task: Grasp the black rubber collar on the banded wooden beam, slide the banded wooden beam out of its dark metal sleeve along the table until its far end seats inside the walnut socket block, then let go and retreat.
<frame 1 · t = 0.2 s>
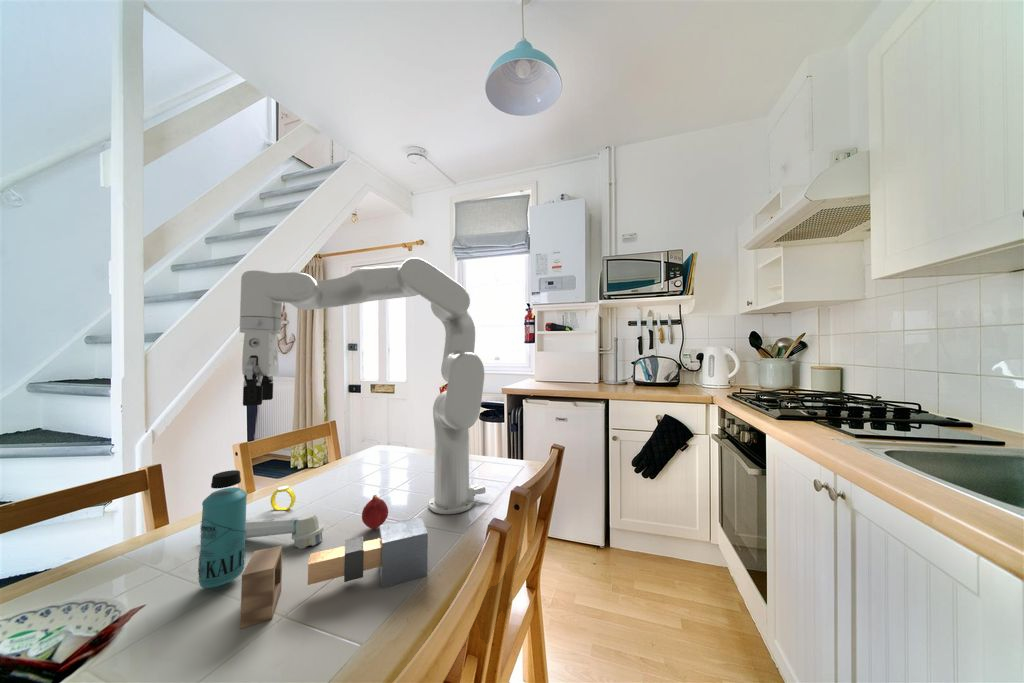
hand: (258, 402, 74), 31 cm above the table, tool pointing down, fingers open, 9 cm apart
banded wooden beam: (369, 554, 61), point 5 cm above the table, slide at 0.0 cm
sleeve: (402, 570, 63), on the table
white long handled piece: (267, 543, 74), on the table
socket: (262, 608, 54), on the table
beverage bottle: (222, 586, 60), on the table
onion: (374, 530, 79), on the table
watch: (282, 510, 89), on the table
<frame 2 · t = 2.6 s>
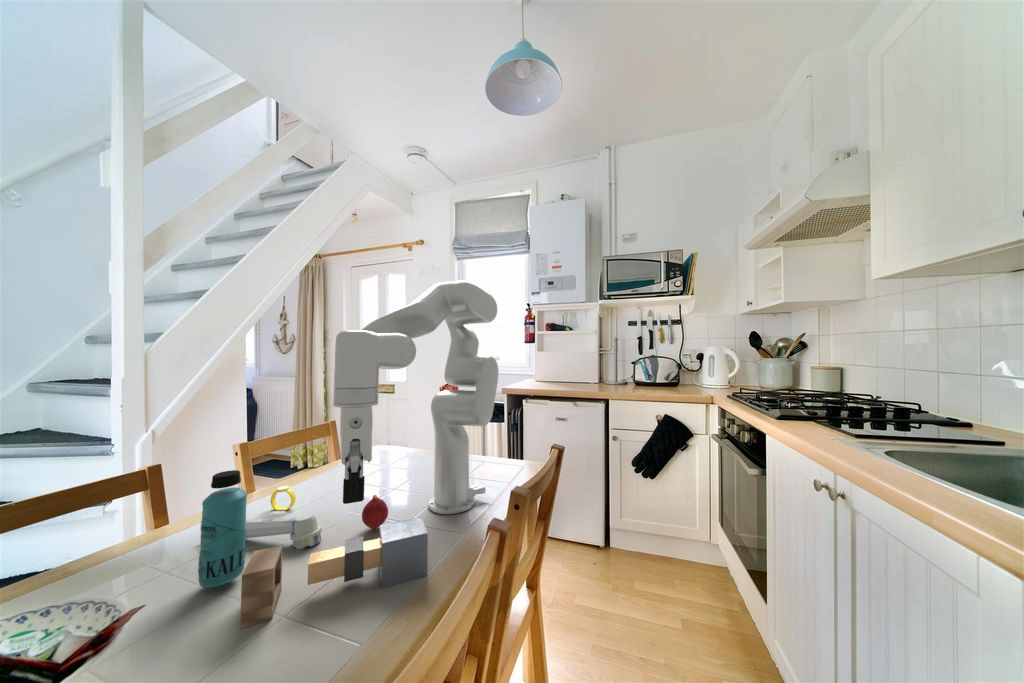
hand: (353, 491, 60), 16 cm above the table, tool pointing down, fingers open, 9 cm apart
nothing on the table moved.
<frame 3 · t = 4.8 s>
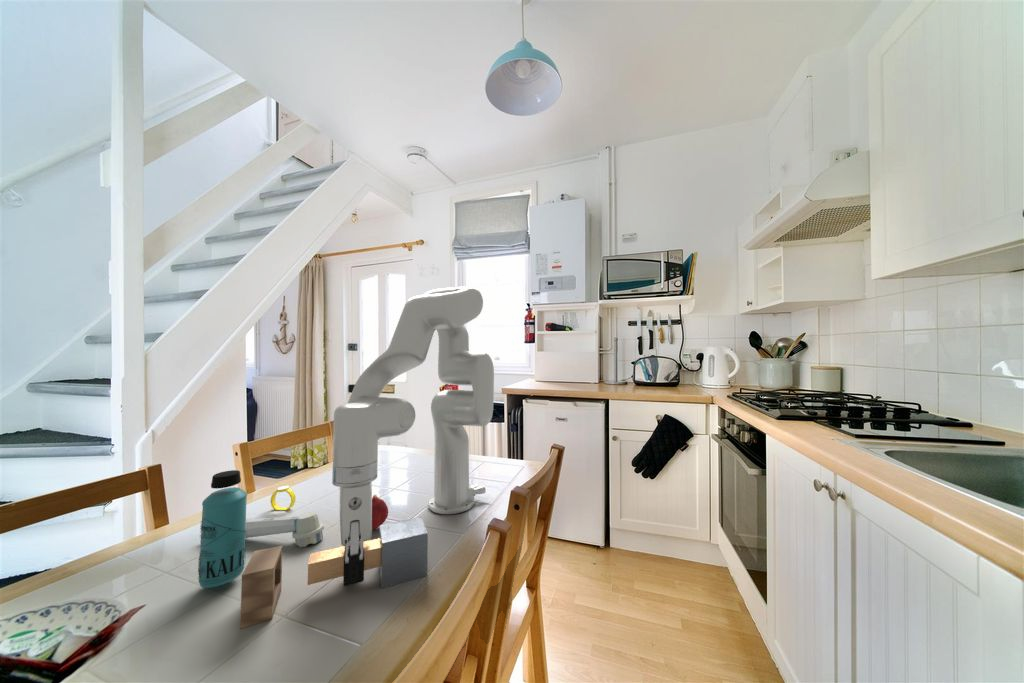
hand: (353, 572, 60), 2 cm above the table, tool pointing down, fingers closed on banded wooden beam, 4 cm apart
banded wooden beam: (369, 554, 61), point 4 cm above the table, slide at 0.0 cm, touching gripper
everything else where it was.
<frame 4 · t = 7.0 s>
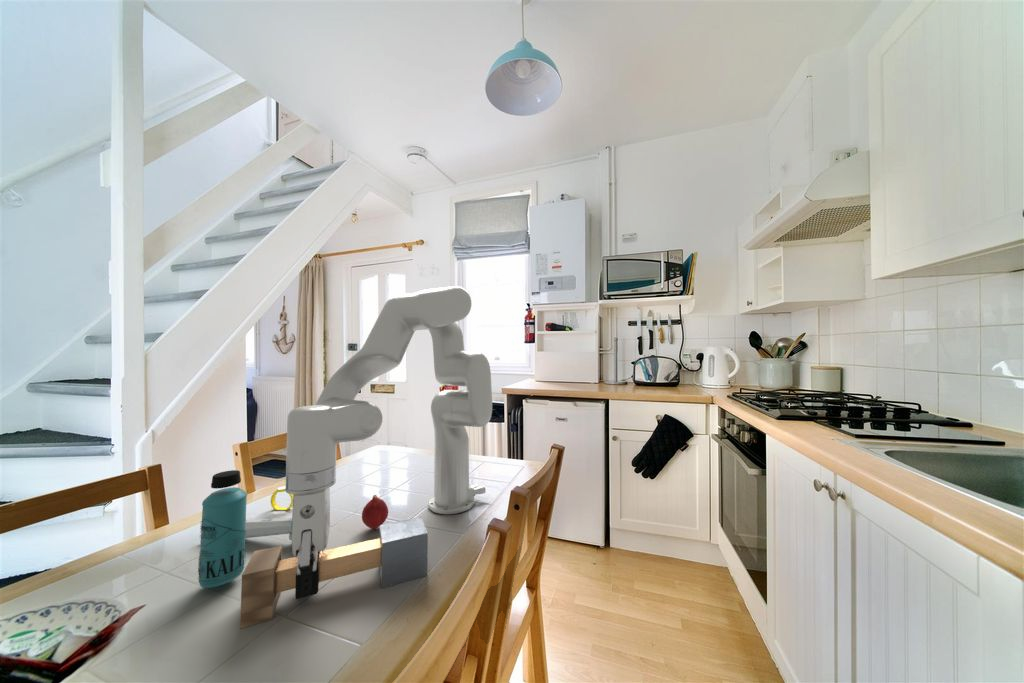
hand: (309, 583, 57), 2 cm above the table, tool pointing down, fingers closed on banded wooden beam, 4 cm apart
banded wooden beam: (326, 564, 58), point 4 cm above the table, slide at 7.0 cm, touching gripper
everything else where it was.
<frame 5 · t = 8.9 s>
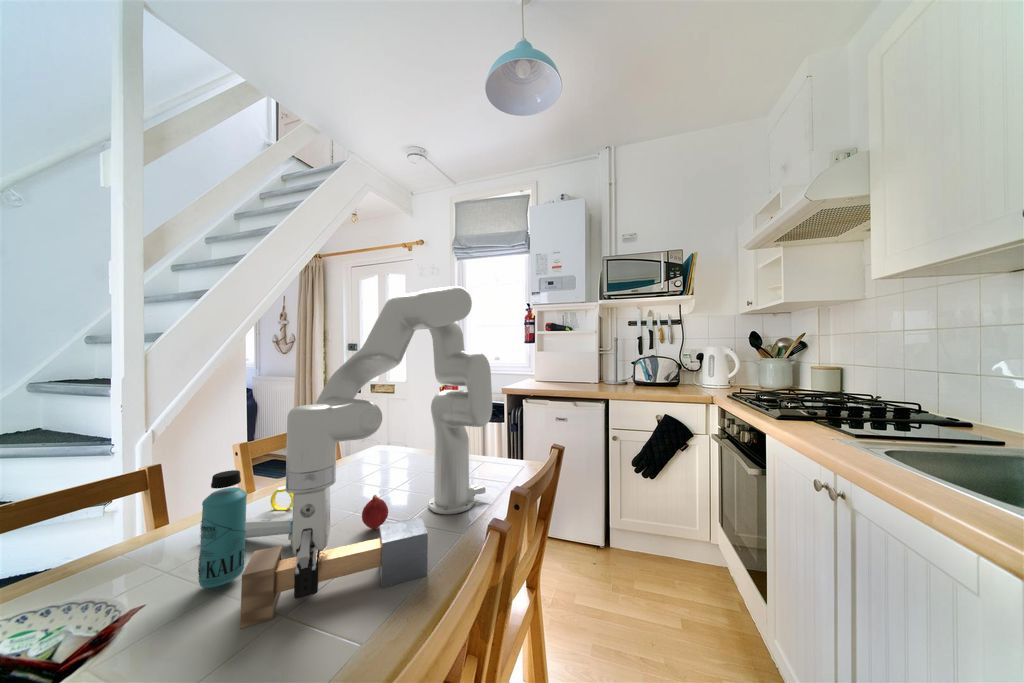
hand: (310, 576, 57), 3 cm above the table, tool pointing down, fingers open, 9 cm apart
banded wooden beam: (325, 564, 58), point 5 cm above the table, slide at 7.0 cm
everything else where it was.
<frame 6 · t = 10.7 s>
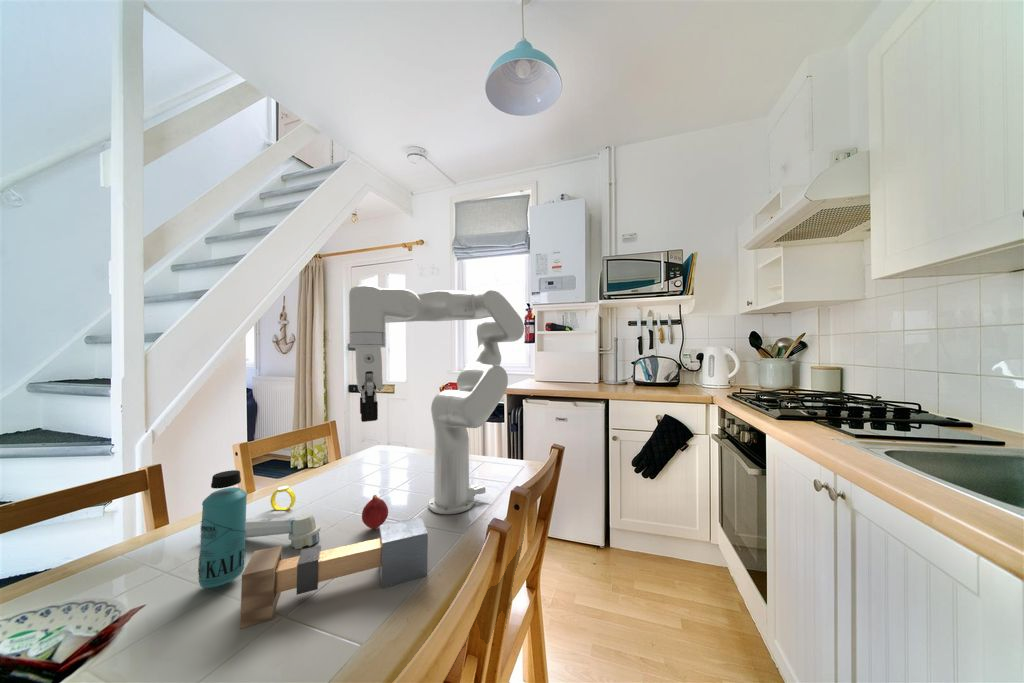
hand: (368, 417, 74), 28 cm above the table, tool pointing down, fingers open, 9 cm apart
nothing on the table moved.
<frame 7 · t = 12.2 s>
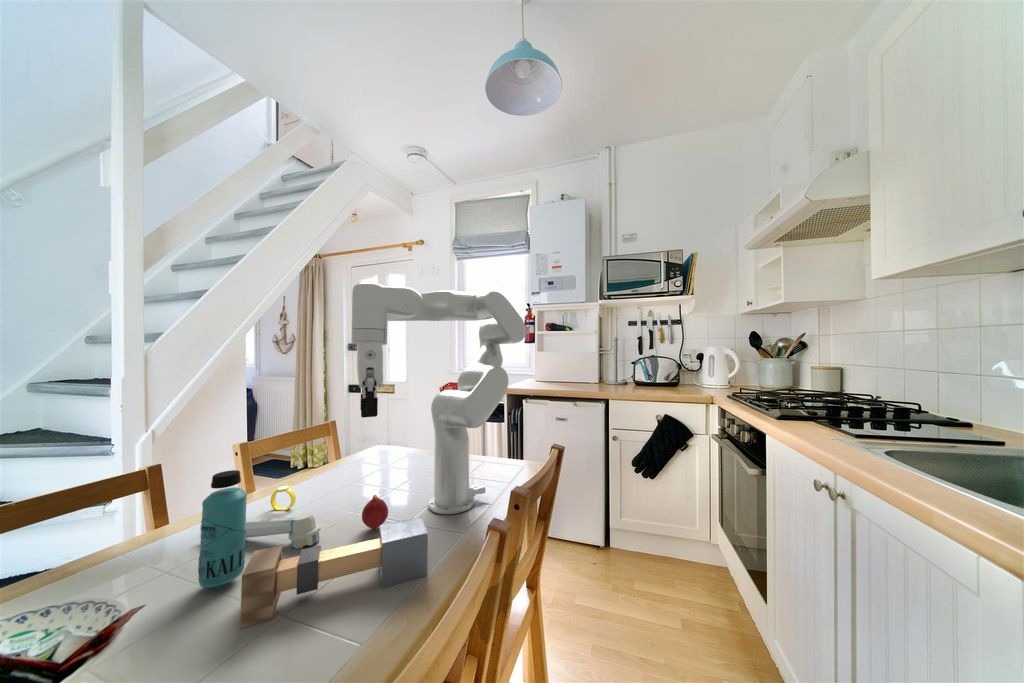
hand: (368, 413, 75), 28 cm above the table, tool pointing down, fingers open, 9 cm apart
nothing on the table moved.
at the end: banded wooden beam slide at 7.0 cm; the gripper is holding nothing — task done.
